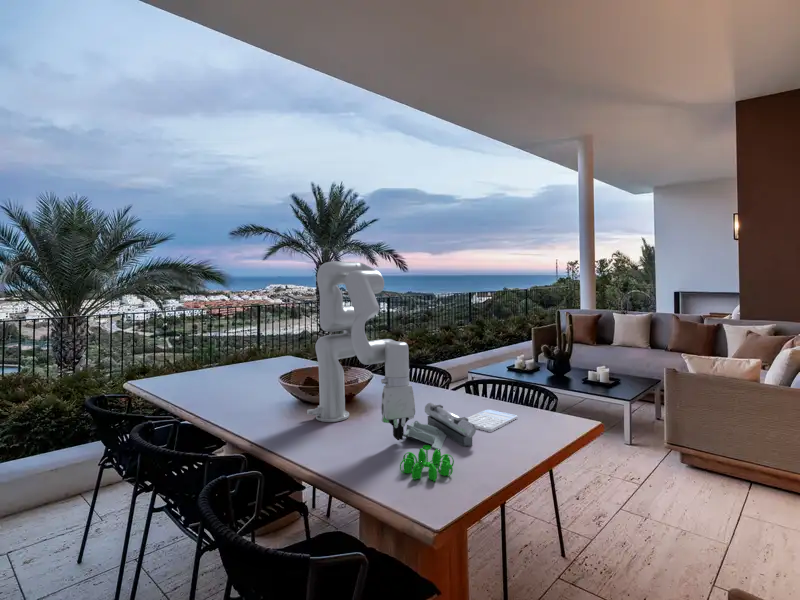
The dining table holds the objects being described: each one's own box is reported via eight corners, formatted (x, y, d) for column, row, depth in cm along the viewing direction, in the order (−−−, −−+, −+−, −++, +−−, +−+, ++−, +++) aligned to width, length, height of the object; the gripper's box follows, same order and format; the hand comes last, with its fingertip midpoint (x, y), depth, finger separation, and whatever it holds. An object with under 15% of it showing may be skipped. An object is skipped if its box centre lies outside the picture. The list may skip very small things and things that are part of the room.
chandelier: (406, 487, 107) (405, 460, 107) (394, 463, 122) (394, 439, 122) (463, 481, 110) (462, 454, 110) (445, 458, 125) (444, 434, 125)
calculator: (458, 425, 154) (458, 420, 154) (487, 412, 168) (487, 407, 168) (490, 434, 145) (490, 428, 145) (518, 419, 159) (518, 414, 159)
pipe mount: (464, 448, 131) (463, 424, 131) (424, 423, 155) (424, 403, 155) (476, 445, 133) (475, 422, 133) (435, 421, 157) (435, 401, 156)
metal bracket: (402, 429, 133) (412, 415, 148) (397, 447, 134) (408, 430, 148) (446, 446, 130) (452, 429, 145) (441, 463, 131) (447, 445, 145)
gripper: (379, 386, 129) (380, 446, 130) (423, 381, 135) (424, 438, 135) (371, 381, 136) (372, 438, 137) (413, 376, 142) (415, 431, 142)
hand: (398, 438), depth 136 cm, fingers closed
